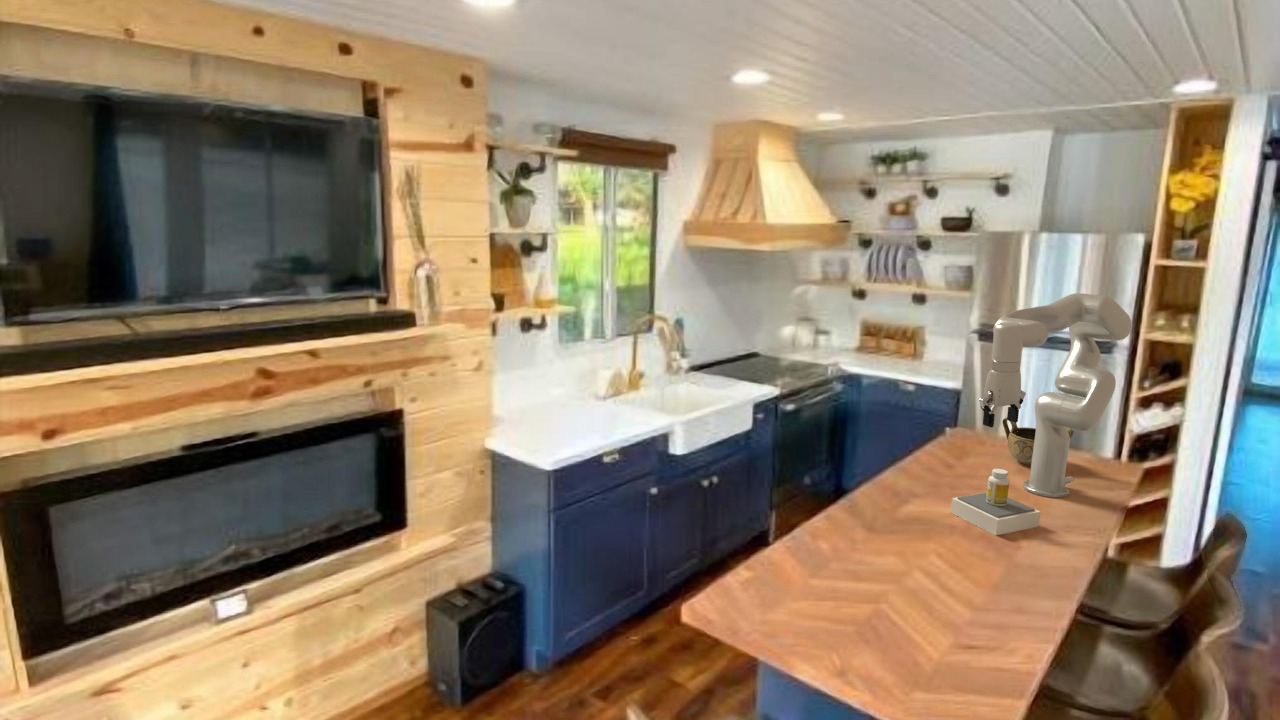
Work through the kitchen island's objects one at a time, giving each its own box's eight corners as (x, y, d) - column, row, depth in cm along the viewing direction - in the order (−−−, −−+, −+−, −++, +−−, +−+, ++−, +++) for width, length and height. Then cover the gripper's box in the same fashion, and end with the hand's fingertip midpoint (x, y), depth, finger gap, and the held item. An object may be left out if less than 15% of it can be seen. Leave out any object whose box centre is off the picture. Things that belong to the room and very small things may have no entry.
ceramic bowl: (1075, 466, 248) (1081, 425, 245) (1057, 478, 237) (1063, 434, 234) (1008, 450, 265) (1013, 411, 262) (988, 460, 254) (993, 419, 251)
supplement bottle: (982, 502, 203) (985, 470, 201) (991, 497, 207) (995, 466, 205) (1001, 508, 199) (1005, 475, 197) (1010, 503, 202) (1014, 471, 200)
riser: (991, 505, 214) (993, 489, 213) (1038, 526, 199) (1040, 509, 198) (950, 512, 208) (952, 496, 207) (995, 535, 194) (997, 518, 193)
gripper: (1015, 360, 210) (1010, 416, 214) (972, 366, 203) (967, 424, 207) (1038, 365, 203) (1032, 422, 207) (994, 372, 196) (989, 431, 200)
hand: (1000, 423), depth 207 cm, fingers open, 9 cm apart
